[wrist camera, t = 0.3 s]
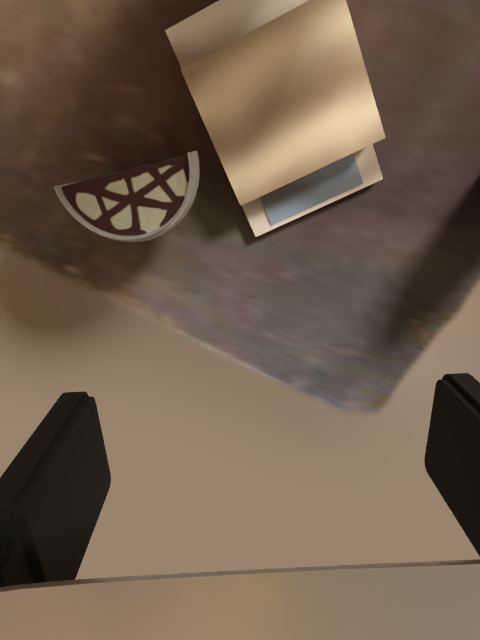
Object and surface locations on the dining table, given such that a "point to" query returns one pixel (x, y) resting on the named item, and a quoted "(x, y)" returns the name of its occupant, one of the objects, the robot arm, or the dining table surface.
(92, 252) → the dining table surface
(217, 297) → the dining table surface
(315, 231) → the dining table surface
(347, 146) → the build base
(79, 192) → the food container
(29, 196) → the dining table surface
